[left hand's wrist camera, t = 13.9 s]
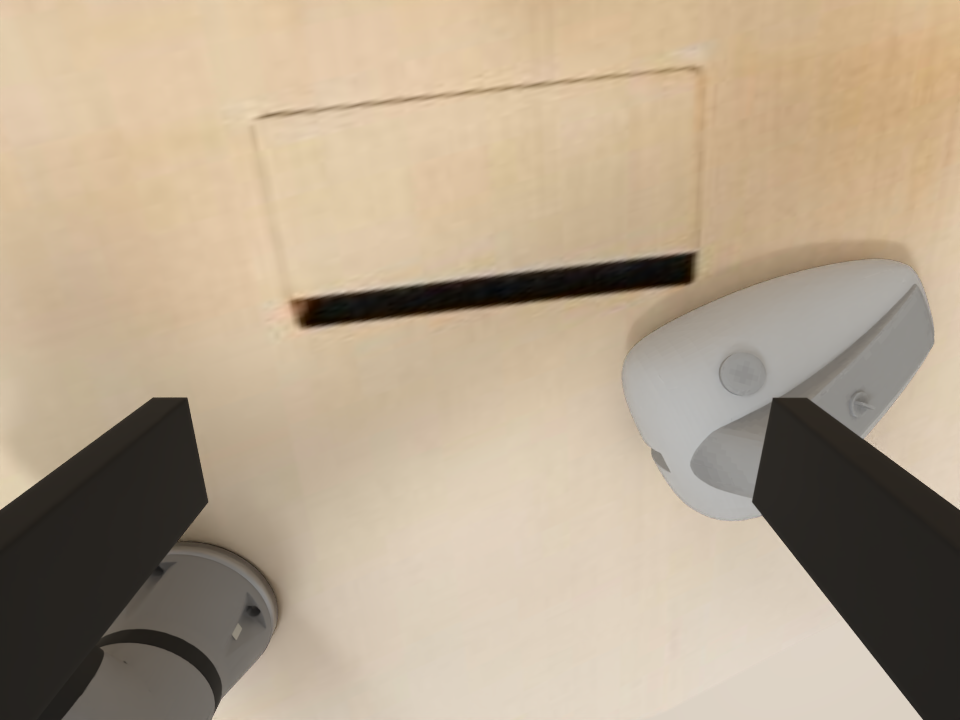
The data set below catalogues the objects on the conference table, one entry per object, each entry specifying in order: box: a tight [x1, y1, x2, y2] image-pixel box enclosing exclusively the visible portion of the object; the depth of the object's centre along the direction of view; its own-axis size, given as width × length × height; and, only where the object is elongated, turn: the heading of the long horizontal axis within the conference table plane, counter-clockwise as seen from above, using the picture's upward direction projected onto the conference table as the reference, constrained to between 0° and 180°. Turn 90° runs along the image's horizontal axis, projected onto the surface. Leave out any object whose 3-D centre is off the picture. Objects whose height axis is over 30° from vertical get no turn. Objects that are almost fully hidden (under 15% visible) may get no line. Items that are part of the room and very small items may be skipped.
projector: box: [622, 259, 934, 521], centre depth 39 cm, size 22×23×15 cm
